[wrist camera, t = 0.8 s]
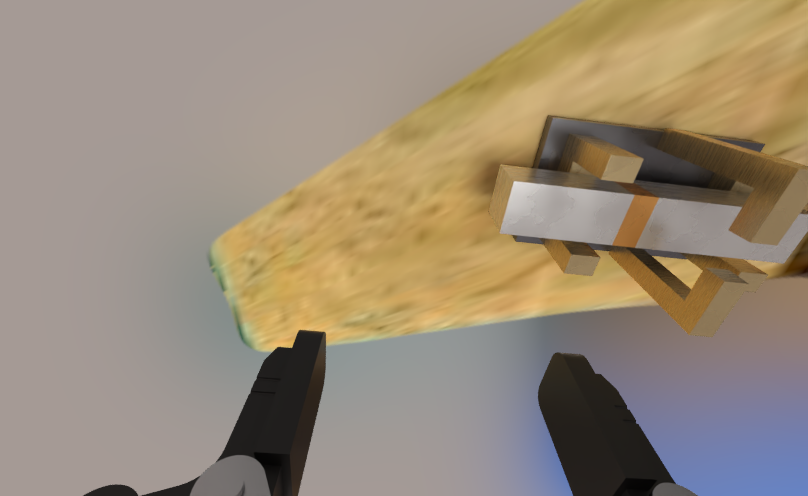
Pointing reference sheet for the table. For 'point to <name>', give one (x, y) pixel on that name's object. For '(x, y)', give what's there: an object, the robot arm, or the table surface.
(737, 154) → the bridge
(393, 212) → the table surface
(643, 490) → the robot arm
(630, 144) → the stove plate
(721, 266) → the tan bracket pieces
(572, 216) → the rod
